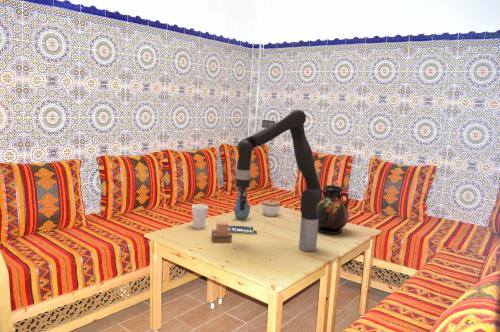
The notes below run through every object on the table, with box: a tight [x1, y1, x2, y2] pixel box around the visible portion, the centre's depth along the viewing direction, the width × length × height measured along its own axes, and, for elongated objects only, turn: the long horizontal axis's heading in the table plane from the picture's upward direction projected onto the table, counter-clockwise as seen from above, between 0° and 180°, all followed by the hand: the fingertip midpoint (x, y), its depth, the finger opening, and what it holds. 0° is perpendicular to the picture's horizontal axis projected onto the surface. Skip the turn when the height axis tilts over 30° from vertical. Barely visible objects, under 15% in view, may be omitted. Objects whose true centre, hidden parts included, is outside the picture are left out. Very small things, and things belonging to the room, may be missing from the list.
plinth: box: [211, 229, 233, 244], centre depth 219 cm, size 10×10×4 cm
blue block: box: [235, 197, 249, 211], centre depth 211 cm, size 6×6×6 cm
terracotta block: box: [215, 220, 229, 234], centre depth 218 cm, size 6×6×6 cm
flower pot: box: [233, 204, 251, 221], centre depth 259 cm, size 9×9×9 cm
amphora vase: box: [317, 184, 350, 236], centre depth 242 cm, size 22×22×28 cm
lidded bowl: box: [261, 199, 281, 217], centre depth 273 cm, size 13×13×11 cm
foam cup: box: [191, 203, 209, 230], centre depth 238 cm, size 10×9×13 cm
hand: (241, 208), depth 212 cm, fingers closed on blue block, 5 cm apart
